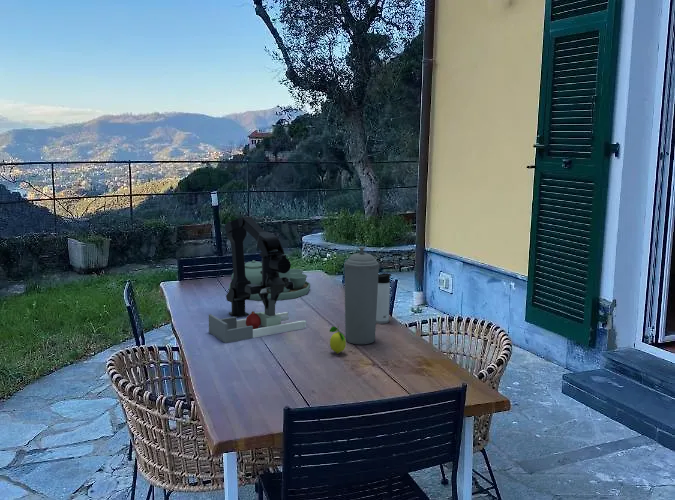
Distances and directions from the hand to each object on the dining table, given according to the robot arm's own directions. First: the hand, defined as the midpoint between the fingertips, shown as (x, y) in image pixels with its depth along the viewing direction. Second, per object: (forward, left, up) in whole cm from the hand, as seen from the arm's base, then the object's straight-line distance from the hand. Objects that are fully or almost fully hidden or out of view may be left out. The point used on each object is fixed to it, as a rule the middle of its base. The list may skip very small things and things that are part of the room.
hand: (269, 308), depth 233 cm
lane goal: (0, -5, -8) cm, 9 cm away
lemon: (+38, +6, -8) cm, 39 cm away
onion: (0, -7, -8) cm, 11 cm away
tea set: (-55, +29, -8) cm, 63 cm away
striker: (0, +2, -8) cm, 8 cm away
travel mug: (+16, +43, -8) cm, 46 cm away
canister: (+31, +21, -8) cm, 38 cm away
